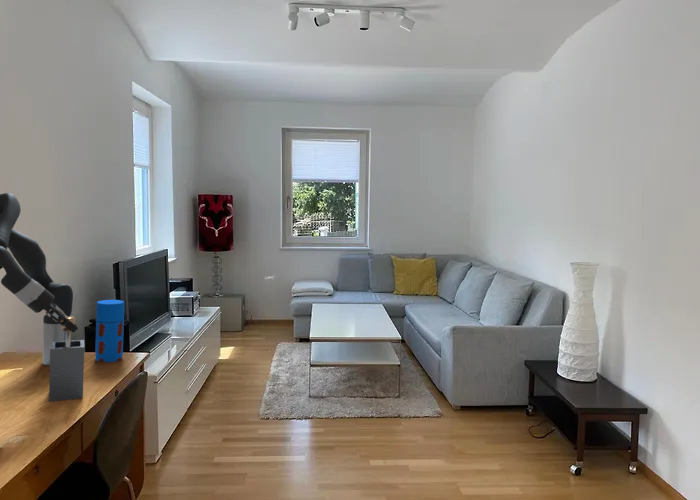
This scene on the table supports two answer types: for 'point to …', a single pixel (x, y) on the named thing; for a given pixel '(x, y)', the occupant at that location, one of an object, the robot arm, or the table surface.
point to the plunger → (68, 330)
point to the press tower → (66, 370)
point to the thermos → (109, 330)
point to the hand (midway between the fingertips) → (74, 328)
